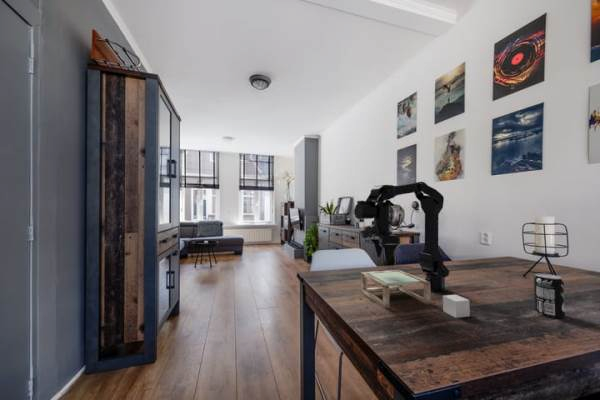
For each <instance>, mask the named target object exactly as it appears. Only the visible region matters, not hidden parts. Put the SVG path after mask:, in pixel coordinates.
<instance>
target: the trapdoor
mask: <svg viewBox="0 0 600 400" xmlns="http://www.w3.org/2000/svg"><path fill="white" fill-rule="evenodd" d="M369 275H370V276H372V277H374V278H376V279H378V280H380V281H382V282H383V283H385V284H387V285H389V286H398V285H402V286H409V285H420V284H421V283H420V281H419V280H417V279H415V278H412V277H410V276H407V275H405V274H403V273H400V272H384V273H369Z"/></svg>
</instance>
